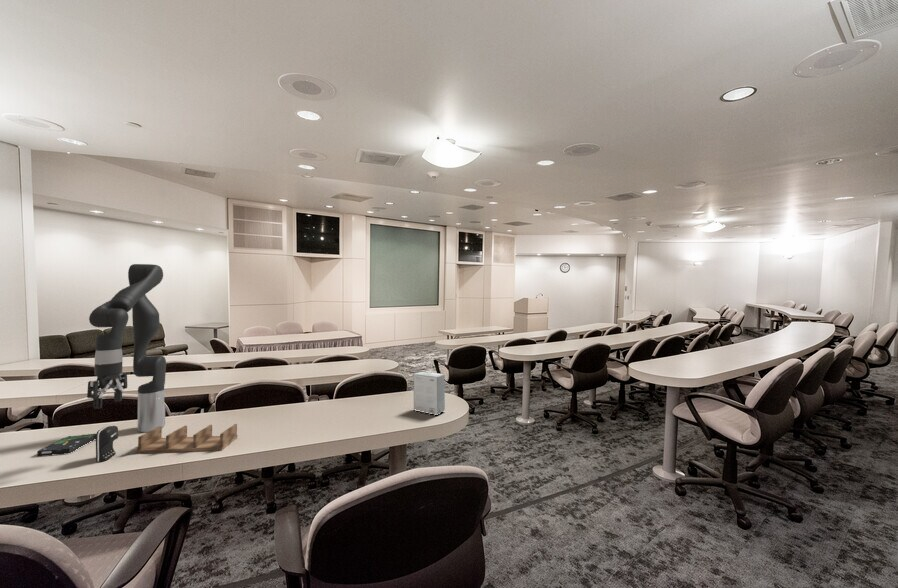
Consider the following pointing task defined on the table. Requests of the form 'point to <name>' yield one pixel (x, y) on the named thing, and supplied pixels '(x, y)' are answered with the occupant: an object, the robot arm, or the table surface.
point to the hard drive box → (429, 392)
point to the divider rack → (185, 440)
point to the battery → (105, 442)
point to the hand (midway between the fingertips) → (108, 404)
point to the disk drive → (66, 445)
